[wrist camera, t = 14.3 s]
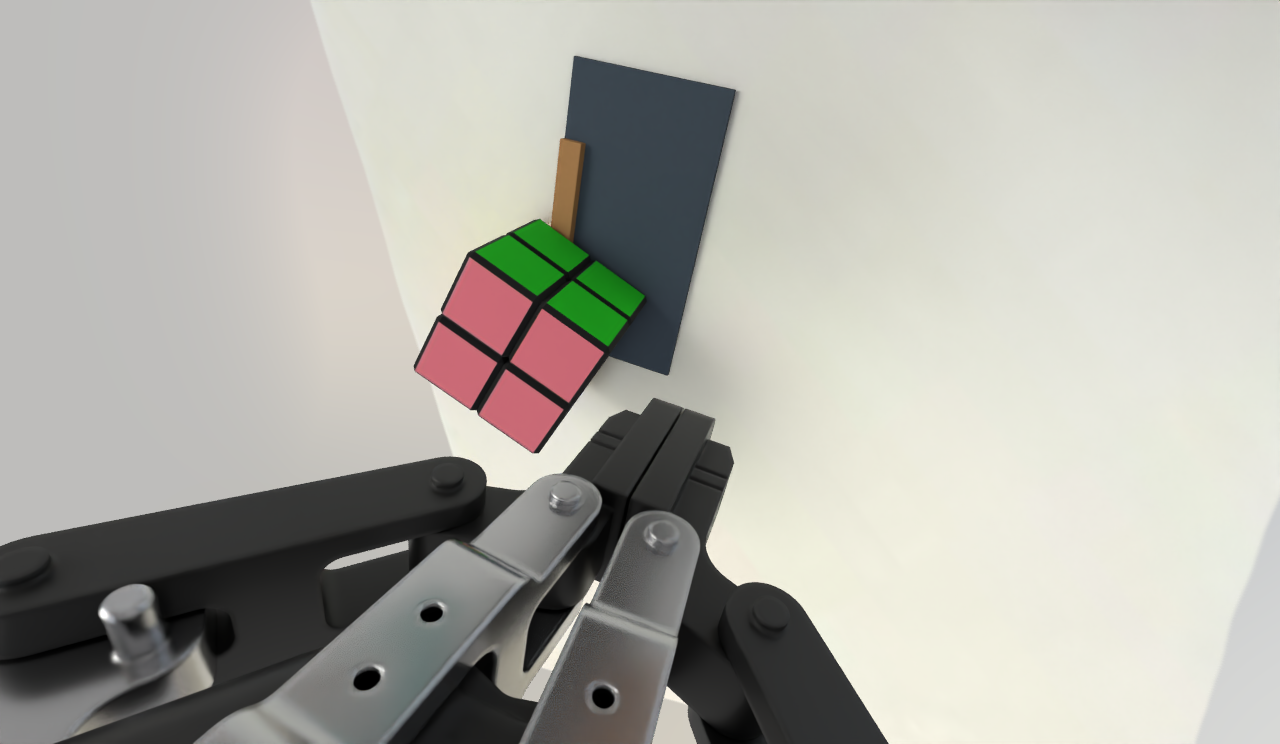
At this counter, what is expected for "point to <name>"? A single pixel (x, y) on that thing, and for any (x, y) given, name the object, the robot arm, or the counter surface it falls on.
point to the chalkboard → (640, 188)
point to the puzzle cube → (526, 331)
